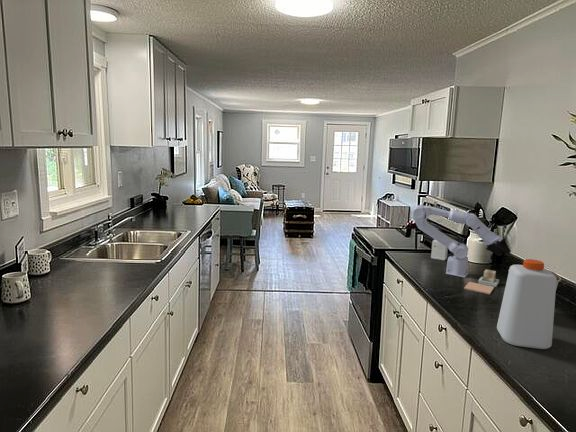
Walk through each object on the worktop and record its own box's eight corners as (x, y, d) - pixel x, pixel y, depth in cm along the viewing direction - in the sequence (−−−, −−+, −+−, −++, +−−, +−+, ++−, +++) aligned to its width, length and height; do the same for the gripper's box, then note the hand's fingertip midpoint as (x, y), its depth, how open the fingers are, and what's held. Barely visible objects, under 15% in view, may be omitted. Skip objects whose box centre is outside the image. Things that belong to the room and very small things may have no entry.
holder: (478, 283, 203) (478, 280, 203) (481, 279, 209) (481, 276, 209) (496, 286, 198) (496, 283, 198) (498, 282, 205) (499, 279, 204)
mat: (463, 288, 194) (464, 287, 194) (469, 282, 203) (469, 281, 203) (489, 294, 188) (489, 293, 188) (494, 288, 197) (494, 286, 196)
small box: (446, 258, 245) (448, 241, 244) (444, 260, 241) (446, 242, 239) (432, 256, 250) (434, 239, 248) (430, 258, 245) (432, 240, 243)
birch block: (482, 283, 203) (484, 271, 202) (484, 280, 207) (485, 269, 206) (492, 285, 201) (494, 273, 200) (494, 282, 204) (495, 271, 203)
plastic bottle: (538, 332, 151) (550, 257, 146) (555, 352, 136) (568, 270, 131) (493, 326, 154) (503, 253, 149) (504, 345, 140) (516, 265, 135)
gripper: (497, 225, 201) (518, 246, 199) (483, 231, 215) (503, 251, 213) (487, 234, 200) (508, 255, 197) (474, 240, 214) (493, 260, 211)
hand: (505, 254), depth 205 cm, fingers open, 7 cm apart
